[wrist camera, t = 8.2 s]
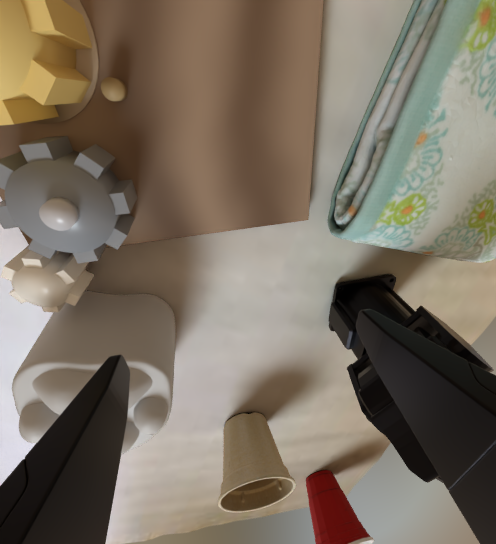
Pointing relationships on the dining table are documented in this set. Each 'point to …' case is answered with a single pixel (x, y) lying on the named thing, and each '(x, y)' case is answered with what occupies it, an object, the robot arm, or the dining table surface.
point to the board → (196, 110)
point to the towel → (428, 140)
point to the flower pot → (252, 466)
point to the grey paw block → (100, 362)
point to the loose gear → (39, 59)
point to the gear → (65, 198)
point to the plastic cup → (333, 512)
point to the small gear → (47, 279)
